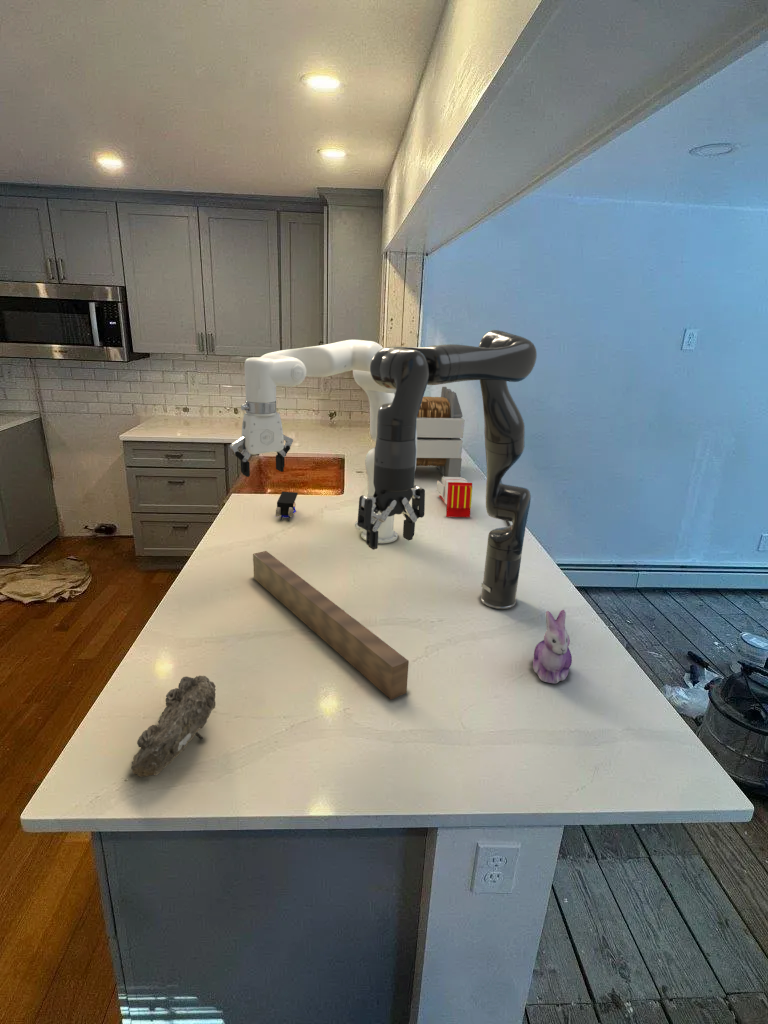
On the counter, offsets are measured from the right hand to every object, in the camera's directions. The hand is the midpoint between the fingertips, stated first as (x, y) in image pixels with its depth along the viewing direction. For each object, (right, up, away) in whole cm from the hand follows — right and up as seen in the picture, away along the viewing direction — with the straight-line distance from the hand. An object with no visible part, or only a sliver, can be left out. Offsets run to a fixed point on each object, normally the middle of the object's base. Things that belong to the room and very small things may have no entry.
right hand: (390, 543), depth 109 cm
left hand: (-33, +16, +40) cm, 55 cm away
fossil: (-38, -35, -6) cm, 52 cm away
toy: (+27, +8, +122) cm, 125 cm away
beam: (-18, -22, +31) cm, 42 cm away
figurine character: (-38, +4, +103) cm, 110 cm away
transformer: (+16, +25, +166) cm, 169 cm away
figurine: (+36, -30, +17) cm, 50 cm away
